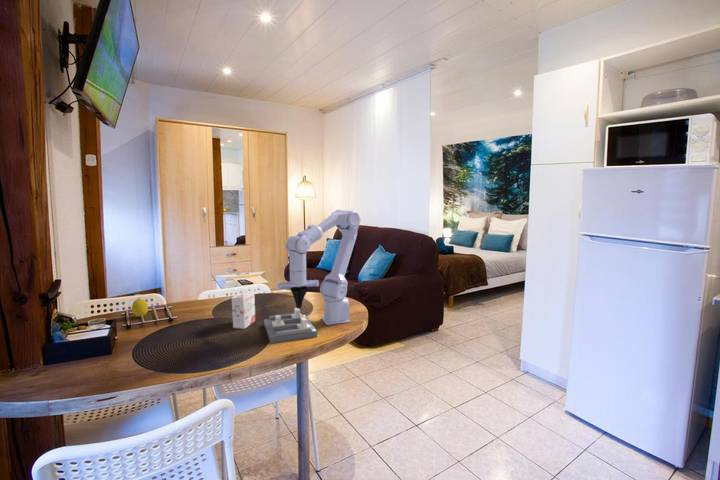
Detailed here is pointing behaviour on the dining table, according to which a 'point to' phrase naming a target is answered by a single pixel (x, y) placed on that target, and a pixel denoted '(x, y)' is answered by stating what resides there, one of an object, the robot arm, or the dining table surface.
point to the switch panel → (288, 329)
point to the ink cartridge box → (243, 308)
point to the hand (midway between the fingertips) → (298, 307)
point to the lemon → (139, 307)
